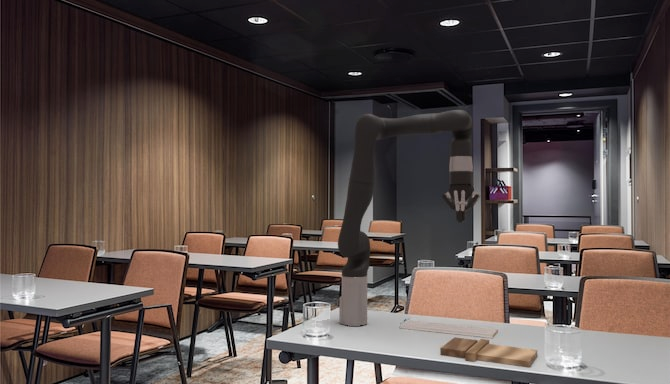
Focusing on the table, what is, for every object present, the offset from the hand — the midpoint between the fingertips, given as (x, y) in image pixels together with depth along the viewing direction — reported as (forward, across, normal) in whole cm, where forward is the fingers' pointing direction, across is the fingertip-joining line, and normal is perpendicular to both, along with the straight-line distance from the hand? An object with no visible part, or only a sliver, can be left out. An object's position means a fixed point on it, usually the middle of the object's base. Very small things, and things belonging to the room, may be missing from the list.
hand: (461, 222), depth 180 cm
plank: (+36, +2, -21) cm, 42 cm away
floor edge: (+37, +18, -21) cm, 46 cm away
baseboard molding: (+38, -6, +2) cm, 38 cm away
